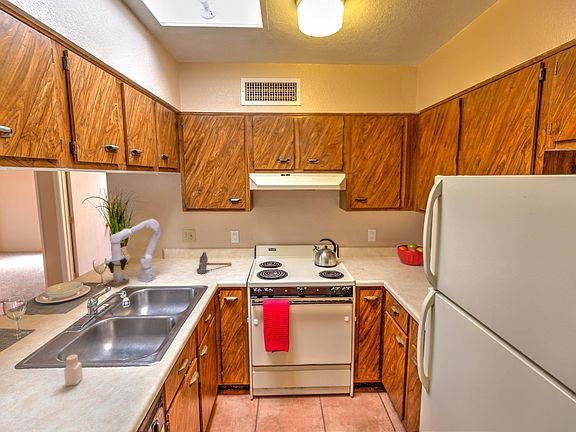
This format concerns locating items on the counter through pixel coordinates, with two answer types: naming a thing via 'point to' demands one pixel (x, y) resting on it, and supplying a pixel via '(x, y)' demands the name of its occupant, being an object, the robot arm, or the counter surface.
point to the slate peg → (117, 277)
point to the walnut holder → (118, 284)
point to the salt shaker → (73, 371)
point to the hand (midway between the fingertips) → (117, 271)
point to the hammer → (204, 263)
